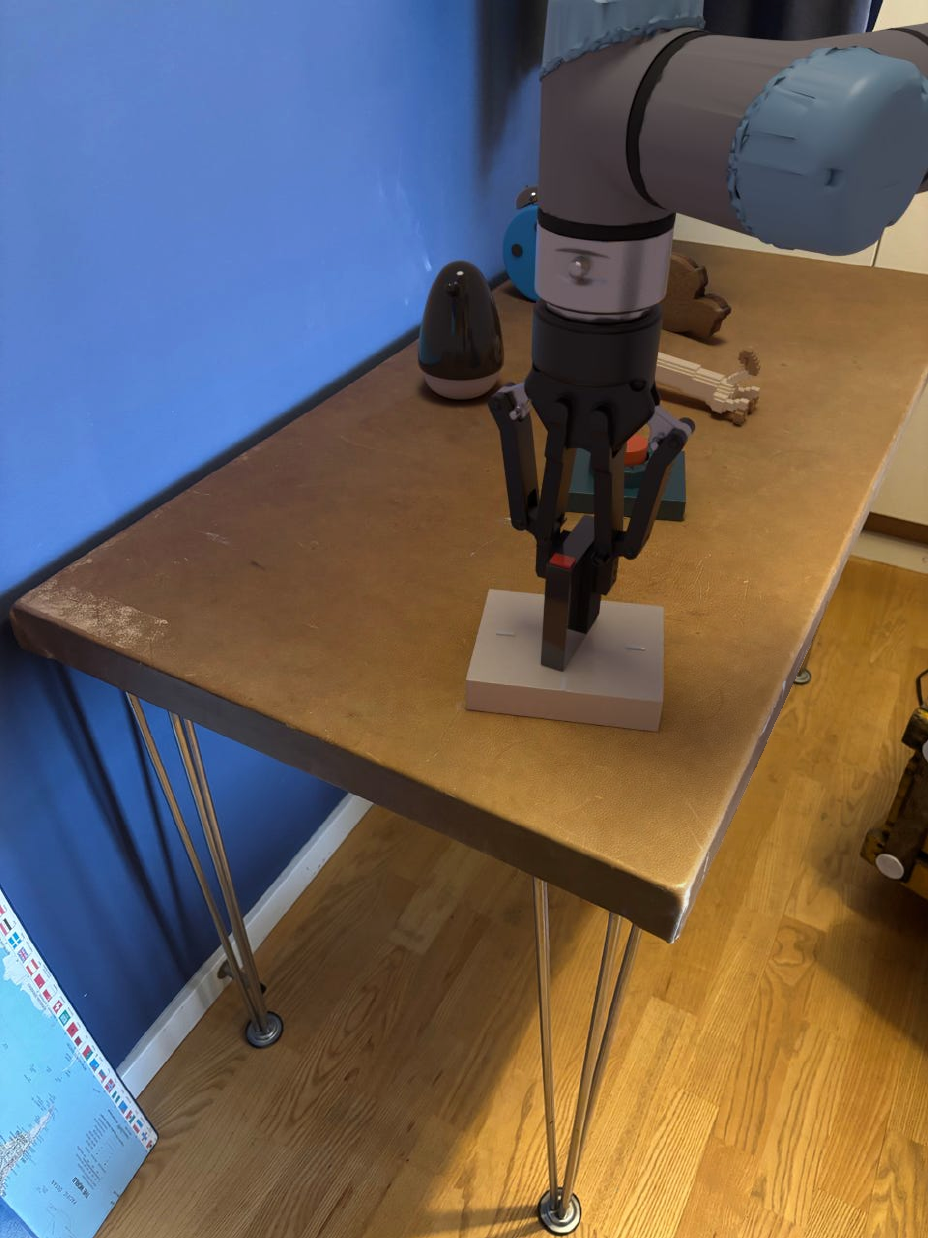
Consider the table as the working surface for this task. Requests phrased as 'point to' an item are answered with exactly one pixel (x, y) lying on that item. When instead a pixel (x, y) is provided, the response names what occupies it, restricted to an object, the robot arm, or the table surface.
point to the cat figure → (712, 383)
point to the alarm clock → (522, 243)
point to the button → (635, 451)
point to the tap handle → (565, 597)
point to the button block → (628, 487)
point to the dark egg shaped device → (460, 334)
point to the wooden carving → (691, 300)
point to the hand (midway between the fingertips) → (571, 617)
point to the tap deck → (569, 665)
